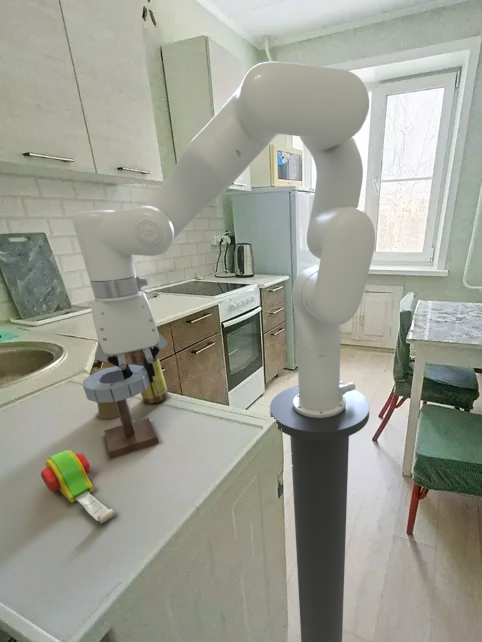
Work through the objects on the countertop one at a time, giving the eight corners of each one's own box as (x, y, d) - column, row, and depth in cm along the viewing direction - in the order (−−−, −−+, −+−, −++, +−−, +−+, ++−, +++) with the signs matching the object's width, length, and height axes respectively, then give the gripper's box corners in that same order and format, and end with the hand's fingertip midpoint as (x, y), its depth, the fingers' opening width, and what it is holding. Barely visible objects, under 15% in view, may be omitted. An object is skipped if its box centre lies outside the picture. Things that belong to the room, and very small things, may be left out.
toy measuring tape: (76, 463, 67) (65, 434, 64) (128, 509, 55) (118, 477, 52) (39, 482, 62) (25, 451, 60) (87, 536, 51) (73, 502, 48)
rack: (150, 423, 79) (136, 372, 73) (158, 442, 72) (144, 387, 66) (106, 436, 75) (88, 383, 69) (110, 458, 68) (92, 401, 62)
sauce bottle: (168, 391, 93) (151, 317, 84) (169, 401, 87) (151, 324, 79) (142, 396, 91) (122, 321, 82) (141, 407, 86) (120, 328, 77)
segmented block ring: (144, 371, 75) (141, 360, 74) (154, 391, 66) (151, 378, 65) (85, 385, 70) (81, 373, 69) (89, 408, 61) (84, 395, 60)
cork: (107, 421, 80) (93, 377, 75) (94, 414, 84) (80, 371, 79) (131, 410, 85) (120, 368, 80) (118, 403, 88) (106, 362, 83)
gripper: (159, 279, 68) (177, 366, 76) (63, 292, 61) (94, 386, 69) (168, 284, 62) (187, 378, 71) (63, 299, 55) (97, 401, 63)
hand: (141, 381), depth 70 cm, fingers closed on segmented block ring, 2 cm apart
